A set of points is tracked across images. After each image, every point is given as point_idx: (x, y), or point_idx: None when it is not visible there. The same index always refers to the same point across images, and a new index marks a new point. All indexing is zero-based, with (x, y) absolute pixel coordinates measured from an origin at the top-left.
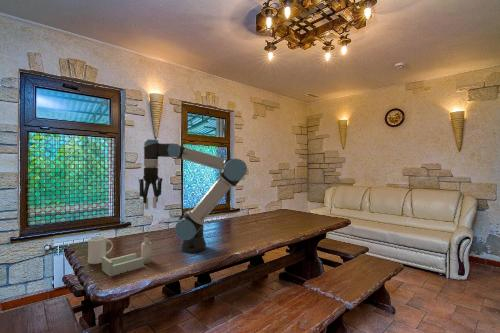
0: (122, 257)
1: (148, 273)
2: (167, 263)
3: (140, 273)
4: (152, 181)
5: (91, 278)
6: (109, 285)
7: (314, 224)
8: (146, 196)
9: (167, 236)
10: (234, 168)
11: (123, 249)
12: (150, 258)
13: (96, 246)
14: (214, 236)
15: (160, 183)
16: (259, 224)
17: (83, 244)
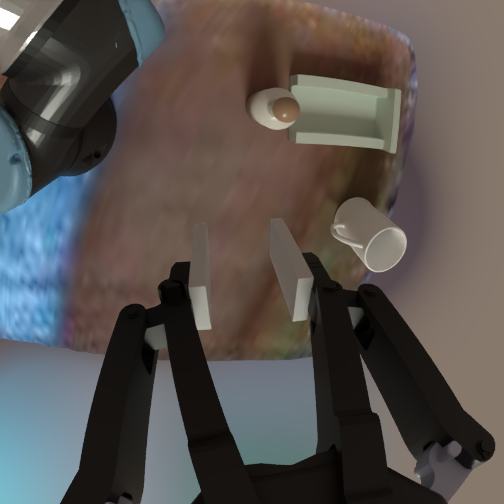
0: (340, 135)
1: (302, 26)
2: (217, 48)
3: (318, 42)
4: (283, 499)
5: (406, 116)
6: (394, 48)
7: None
8: (325, 286)
9: (105, 300)
10: None
11: (263, 264)
12: (258, 91)
13: (389, 220)
14: None
15: (101, 454)
16: None
17: None
